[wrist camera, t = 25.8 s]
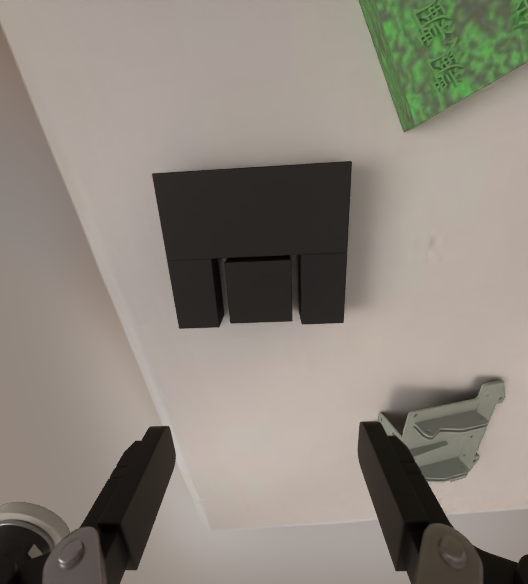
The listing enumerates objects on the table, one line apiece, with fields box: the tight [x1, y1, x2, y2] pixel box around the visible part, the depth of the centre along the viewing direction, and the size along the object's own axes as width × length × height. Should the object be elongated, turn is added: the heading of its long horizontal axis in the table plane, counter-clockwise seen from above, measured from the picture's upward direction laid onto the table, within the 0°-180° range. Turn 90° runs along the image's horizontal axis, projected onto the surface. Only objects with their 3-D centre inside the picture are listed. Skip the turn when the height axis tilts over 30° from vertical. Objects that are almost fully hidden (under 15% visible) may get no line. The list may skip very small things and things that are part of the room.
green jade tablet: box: [359, 0, 528, 132], centre depth 19 cm, size 11×12×2 cm
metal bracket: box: [378, 380, 505, 482], centre depth 32 cm, size 14×6×15 cm
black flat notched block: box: [152, 161, 352, 329], centre depth 25 cm, size 16×14×3 cm
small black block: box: [224, 255, 292, 323], centre depth 26 cm, size 6×6×3 cm
